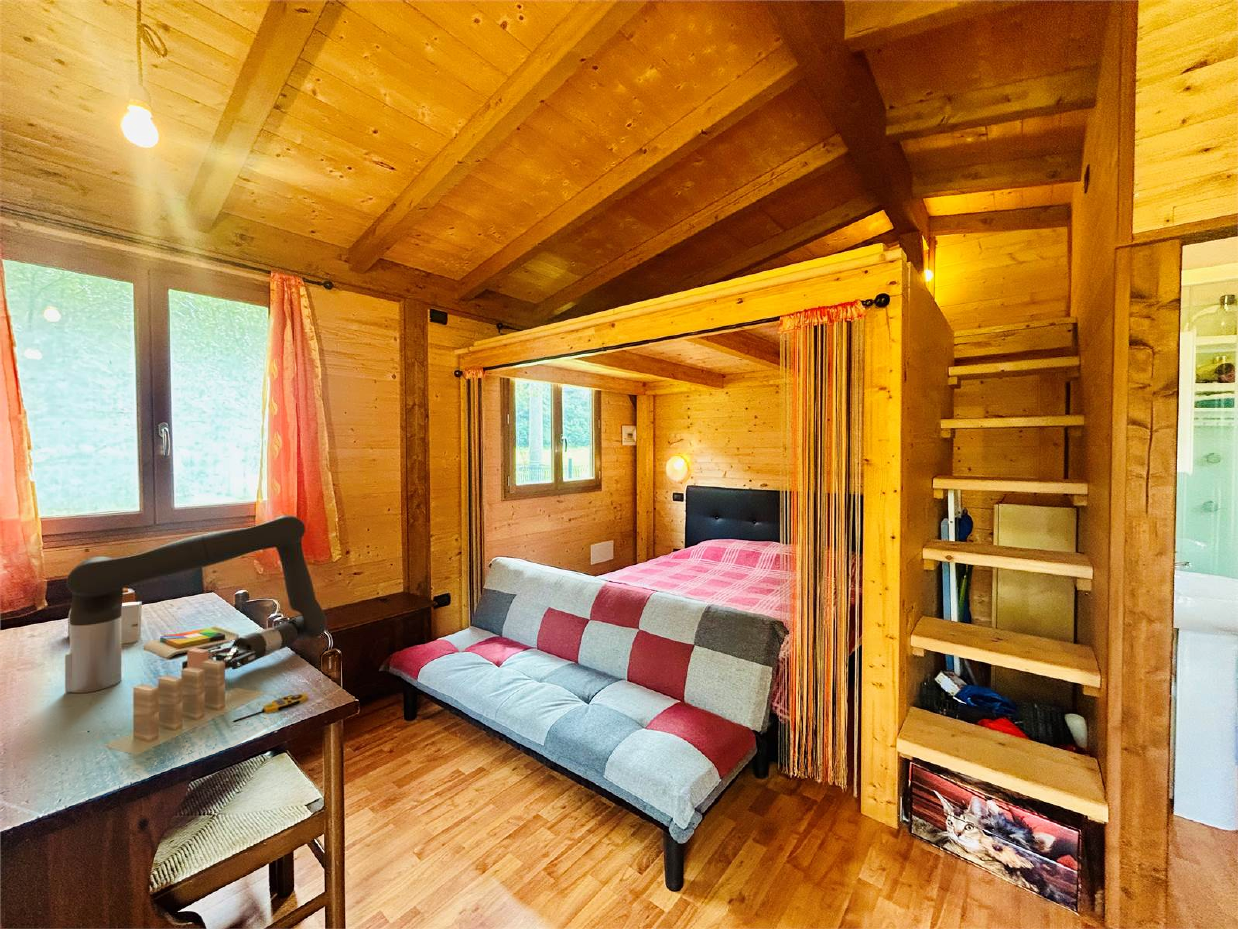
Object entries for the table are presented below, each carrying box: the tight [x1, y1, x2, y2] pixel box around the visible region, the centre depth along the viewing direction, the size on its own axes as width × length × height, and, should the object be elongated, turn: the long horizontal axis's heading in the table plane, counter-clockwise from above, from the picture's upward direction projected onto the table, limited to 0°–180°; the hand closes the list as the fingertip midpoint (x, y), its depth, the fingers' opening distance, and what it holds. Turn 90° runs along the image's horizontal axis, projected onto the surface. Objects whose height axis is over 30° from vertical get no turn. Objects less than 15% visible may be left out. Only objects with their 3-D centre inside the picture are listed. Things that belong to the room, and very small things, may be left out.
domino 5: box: [203, 659, 226, 711], centre depth 118 cm, size 2×5×11 cm, turn 74°
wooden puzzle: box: [142, 625, 240, 660], centre depth 157 cm, size 18×19×4 cm
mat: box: [103, 687, 266, 756], centre depth 114 cm, size 27×10×1 cm, turn 164°
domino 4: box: [180, 667, 205, 721], centre depth 113 cm, size 2×5×11 cm, turn 74°
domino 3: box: [186, 648, 209, 669], centre depth 125 cm, size 2×5×11 cm, turn 74°
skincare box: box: [121, 601, 143, 645], centre depth 158 cm, size 6×4×12 cm
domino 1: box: [132, 683, 159, 743], centre depth 105 cm, size 2×5×11 cm, turn 74°
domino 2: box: [157, 674, 183, 731], centre depth 109 cm, size 2×5×11 cm, turn 74°
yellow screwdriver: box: [232, 692, 309, 723], centre depth 118 cm, size 5×2×15 cm
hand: (195, 668), depth 125 cm, fingers open, 8 cm apart
